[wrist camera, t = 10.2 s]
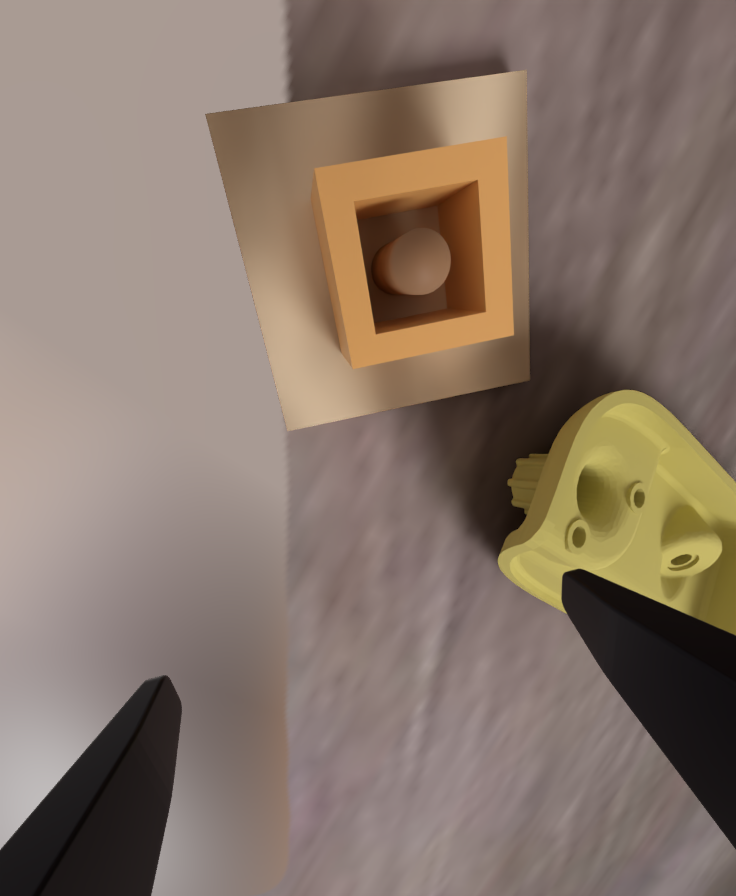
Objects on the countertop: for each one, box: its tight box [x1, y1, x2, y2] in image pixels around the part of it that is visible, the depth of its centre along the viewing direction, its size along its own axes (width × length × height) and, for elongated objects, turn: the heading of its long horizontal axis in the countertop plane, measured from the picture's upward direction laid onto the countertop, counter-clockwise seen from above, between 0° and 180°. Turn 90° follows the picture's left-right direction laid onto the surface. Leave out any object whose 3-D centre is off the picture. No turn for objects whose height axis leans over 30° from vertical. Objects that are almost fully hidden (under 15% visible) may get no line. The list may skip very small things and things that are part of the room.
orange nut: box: [310, 136, 514, 369], centre depth 15 cm, size 6×6×4 cm
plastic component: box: [498, 390, 736, 635], centre depth 23 cm, size 20×7×10 cm
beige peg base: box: [205, 70, 530, 431], centre depth 15 cm, size 12×12×5 cm
